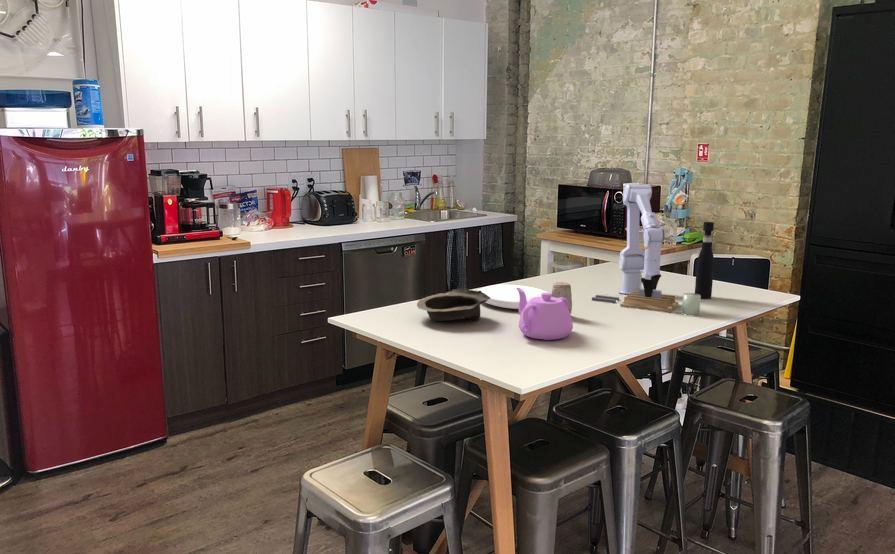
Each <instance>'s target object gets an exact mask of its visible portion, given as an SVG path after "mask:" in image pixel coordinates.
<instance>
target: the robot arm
mask: <svg viewBox="0 0 895 554" xmlns="http://www.w3.org/2000/svg"><path fill="white" fill-rule="evenodd" d="M622 191H623V192H622V201H623V203H622V204H623V206H626V247H625V248H623V249H622V250H621V251H620V252H619V257H618V268H619V269H620V270H621V272H622V276H621V277H622V278H621V281H622V282H621V290H620V291H618V294H623V295H630V293H633V291H639V289H640V288H642V286H643V289H644V293H645V297H651V296H652V293H653V290H657V286H658V284H659V281H660V279H661V277H662V274H661V271H660V268H661V254H662V243H664V242H665V235H666V234H665V229H664V227H663V226H662V225H660V224H659V220H658V218H657V215H656V213H655V212H654V211H653V212H652V206H651V202H650V201H651V198H652V194H653V188H652V186H651V184H649V183H647V184H635V183H634V184H630V183H627V184H625V185H624V188H623V190H622ZM640 213H641V217H640ZM640 221H641V224H642V225H641V226H642V227H643V235H642V236H643V247H644V249H642V248H641V247H640ZM642 273H643V274H644V277H643V274H642Z"/></svg>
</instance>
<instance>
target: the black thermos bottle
mask: <svg viewBox="0 0 895 554" xmlns="http://www.w3.org/2000/svg"><path fill="white" fill-rule="evenodd" d="M702 227H703V228H702V231H703V232H704V234H703V235H704V236H703V238H702V239H703V240H702V242H701V249H700V252H699V254H698V256H697V257H698V258H697V261H696V272H695V274H696V275H695V283H694V284H695V286H694V293H695V294H699V295H701V299H700V300H710V298H711V299H712V291H713V280H714V268H715V258H714V253H713V249H712V248H713V242H712V241H713V240H712V239H713V237H712V232H714V229H715V228H714V227H715V222H713V221H703V225H702Z"/></svg>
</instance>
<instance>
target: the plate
mask: <svg viewBox="0 0 895 554" xmlns="http://www.w3.org/2000/svg"><path fill="white" fill-rule="evenodd" d="M517 288H520V289H522V290H523V291H524V292H525V295H526V300H527V303H528V302H529V301H530V299H532V298H534V297H542V296H541V293H549V291H546V290H543V289H540V288H538V287H537V288H536V287H532V286H526V285H518V284H493V285H488V286H485V287H481V288H480V289H477V291H480V290H481V292H483V293H485V294H487V296H489V297H490V299H488V300H487V302H484V304H485V303H486V304H488V305H491V306H495V307H499V308H504V309H505V308H506V309H510V310H513V309H514V310H519V301H520V295H519V292H518V290H517Z"/></svg>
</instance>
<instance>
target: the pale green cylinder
mask: <svg viewBox="0 0 895 554" xmlns="http://www.w3.org/2000/svg"><path fill="white" fill-rule="evenodd" d="M701 300H702V299H701V295H699V294H695V292H686V293H683V294H682V304H681V306H682V307H681V314H682V313H683V314H682V315H684V314H686V315H685V316H689V315H698V316H699V315H700V309H701Z"/></svg>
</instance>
